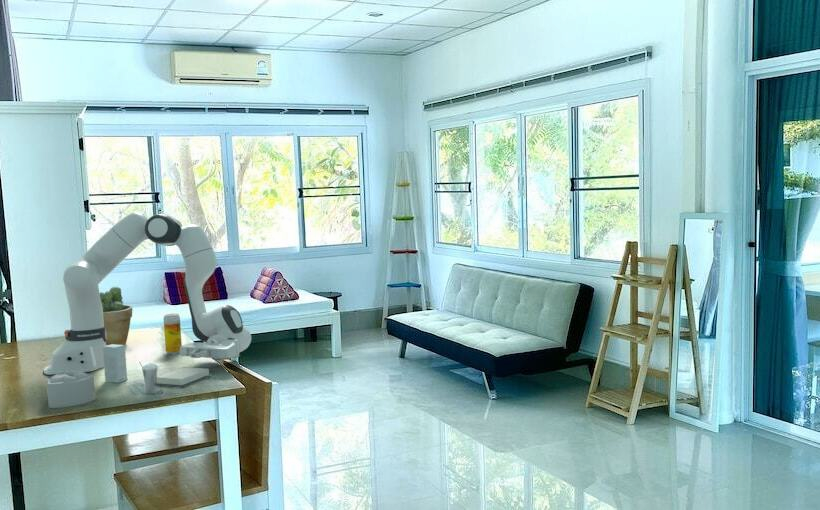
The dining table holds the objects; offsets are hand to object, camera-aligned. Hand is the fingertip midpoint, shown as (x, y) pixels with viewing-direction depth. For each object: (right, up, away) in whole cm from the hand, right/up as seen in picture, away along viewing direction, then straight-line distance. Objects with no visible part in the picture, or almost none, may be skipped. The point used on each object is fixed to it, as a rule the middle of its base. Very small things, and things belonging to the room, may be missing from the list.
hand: (193, 355), depth 252 cm
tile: (+1, -5, +1) cm, 6 cm away
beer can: (-19, -4, +39) cm, 44 cm away
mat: (-2, -8, -6) cm, 10 cm away
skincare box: (-25, -8, -2) cm, 27 cm away
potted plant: (-51, -4, +57) cm, 77 cm away
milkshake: (-8, -9, -19) cm, 23 cm away
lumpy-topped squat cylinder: (-29, -11, -26) cm, 40 cm away
